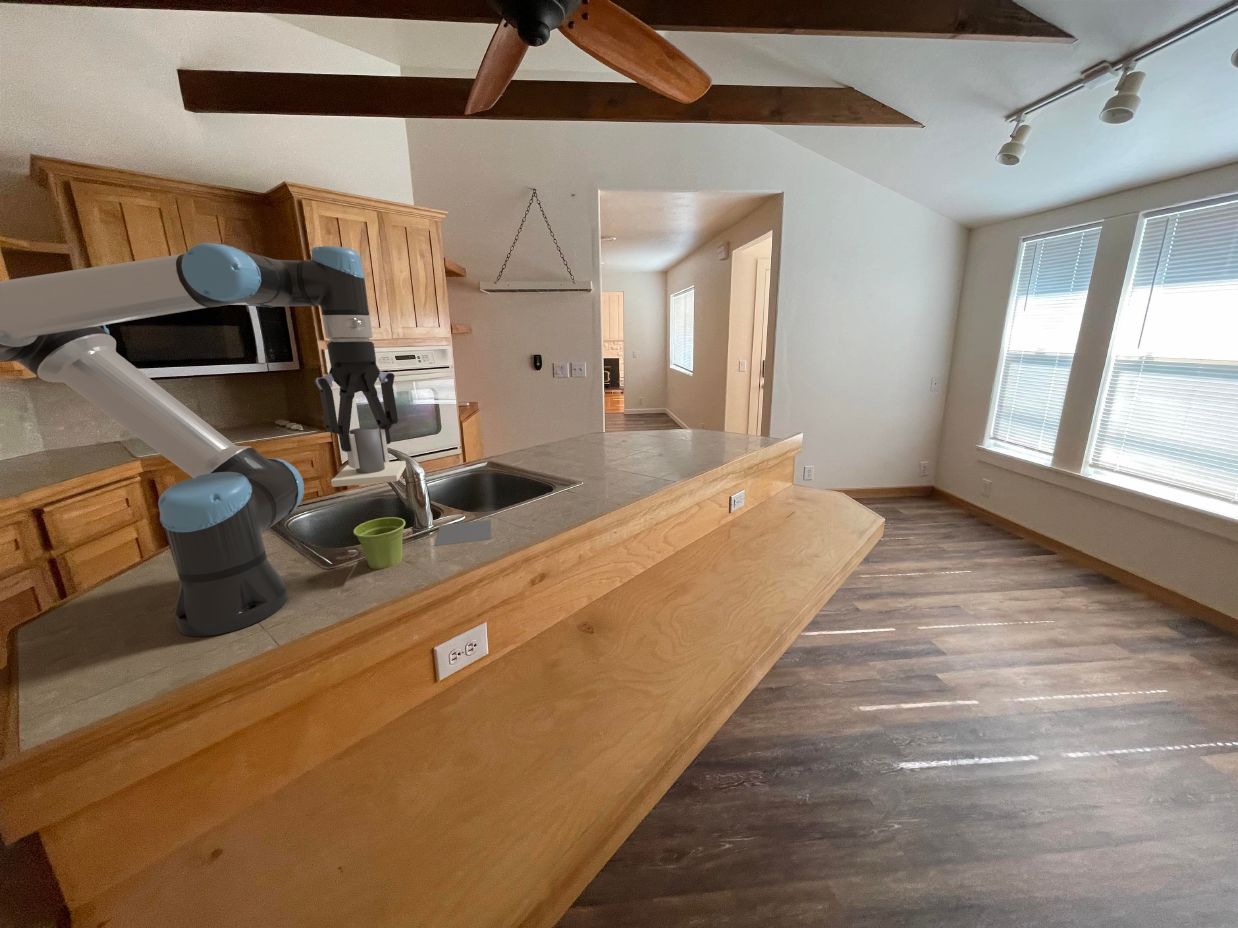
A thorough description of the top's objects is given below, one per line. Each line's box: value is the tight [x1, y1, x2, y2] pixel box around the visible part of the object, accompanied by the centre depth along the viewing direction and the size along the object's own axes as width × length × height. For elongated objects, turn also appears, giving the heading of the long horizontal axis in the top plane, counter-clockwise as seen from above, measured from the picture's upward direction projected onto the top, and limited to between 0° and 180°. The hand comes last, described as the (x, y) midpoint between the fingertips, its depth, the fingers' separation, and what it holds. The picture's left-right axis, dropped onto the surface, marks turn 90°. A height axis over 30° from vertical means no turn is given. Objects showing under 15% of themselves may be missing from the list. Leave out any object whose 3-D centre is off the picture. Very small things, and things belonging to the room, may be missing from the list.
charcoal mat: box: [434, 519, 492, 547], centre depth 113 cm, size 12×12×1 cm
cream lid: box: [330, 426, 407, 488], centre depth 93 cm, size 11×11×9 cm
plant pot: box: [353, 516, 406, 570], centre depth 98 cm, size 9×9×9 cm
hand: (369, 463), depth 93 cm, fingers closed on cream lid, 5 cm apart
